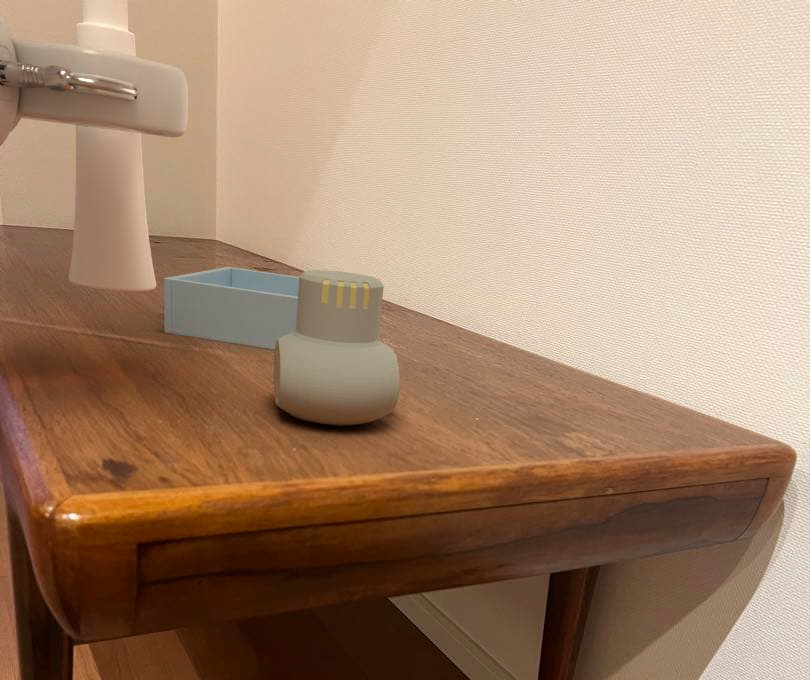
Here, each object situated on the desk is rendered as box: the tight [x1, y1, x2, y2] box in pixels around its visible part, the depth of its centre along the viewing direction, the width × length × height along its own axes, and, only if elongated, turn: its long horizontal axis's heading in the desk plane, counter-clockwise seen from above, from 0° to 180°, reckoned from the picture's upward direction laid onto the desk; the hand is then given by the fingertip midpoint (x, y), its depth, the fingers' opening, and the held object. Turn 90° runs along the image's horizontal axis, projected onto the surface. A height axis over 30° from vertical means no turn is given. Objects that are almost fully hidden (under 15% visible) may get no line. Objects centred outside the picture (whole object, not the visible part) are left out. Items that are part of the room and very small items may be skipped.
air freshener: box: [273, 269, 401, 427], centre depth 56 cm, size 11×8×10 cm
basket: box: [163, 266, 299, 350], centre depth 81 cm, size 16×16×6 cm
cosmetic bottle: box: [68, 0, 157, 293], centre depth 53 cm, size 6×6×22 cm
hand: (118, 102), depth 53 cm, fingers closed on cosmetic bottle, 4 cm apart
